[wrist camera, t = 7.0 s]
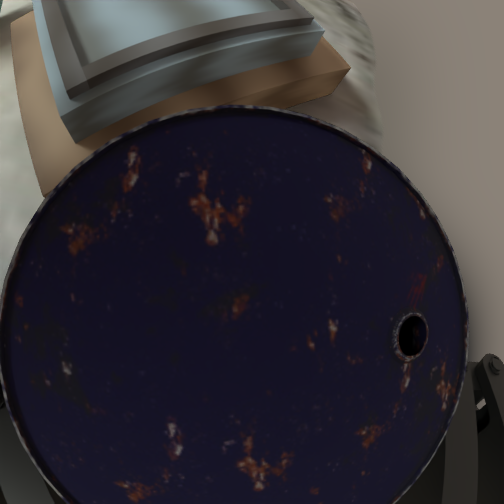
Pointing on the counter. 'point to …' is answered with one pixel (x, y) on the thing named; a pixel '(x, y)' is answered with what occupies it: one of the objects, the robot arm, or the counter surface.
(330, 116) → the counter surface
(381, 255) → the dark blue cylinder
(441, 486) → the robot arm
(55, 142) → the tower base
